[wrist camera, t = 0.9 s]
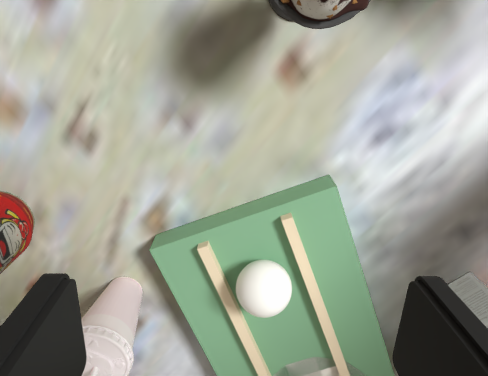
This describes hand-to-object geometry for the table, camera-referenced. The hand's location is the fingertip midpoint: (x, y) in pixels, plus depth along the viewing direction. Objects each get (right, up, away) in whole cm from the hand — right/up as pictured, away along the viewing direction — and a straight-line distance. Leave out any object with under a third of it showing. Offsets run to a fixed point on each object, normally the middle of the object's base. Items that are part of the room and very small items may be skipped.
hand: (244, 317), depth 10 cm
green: (+5, -12, +31) cm, 34 cm away
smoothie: (-13, -7, +30) cm, 33 cm away
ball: (+2, -5, +23) cm, 23 cm away
